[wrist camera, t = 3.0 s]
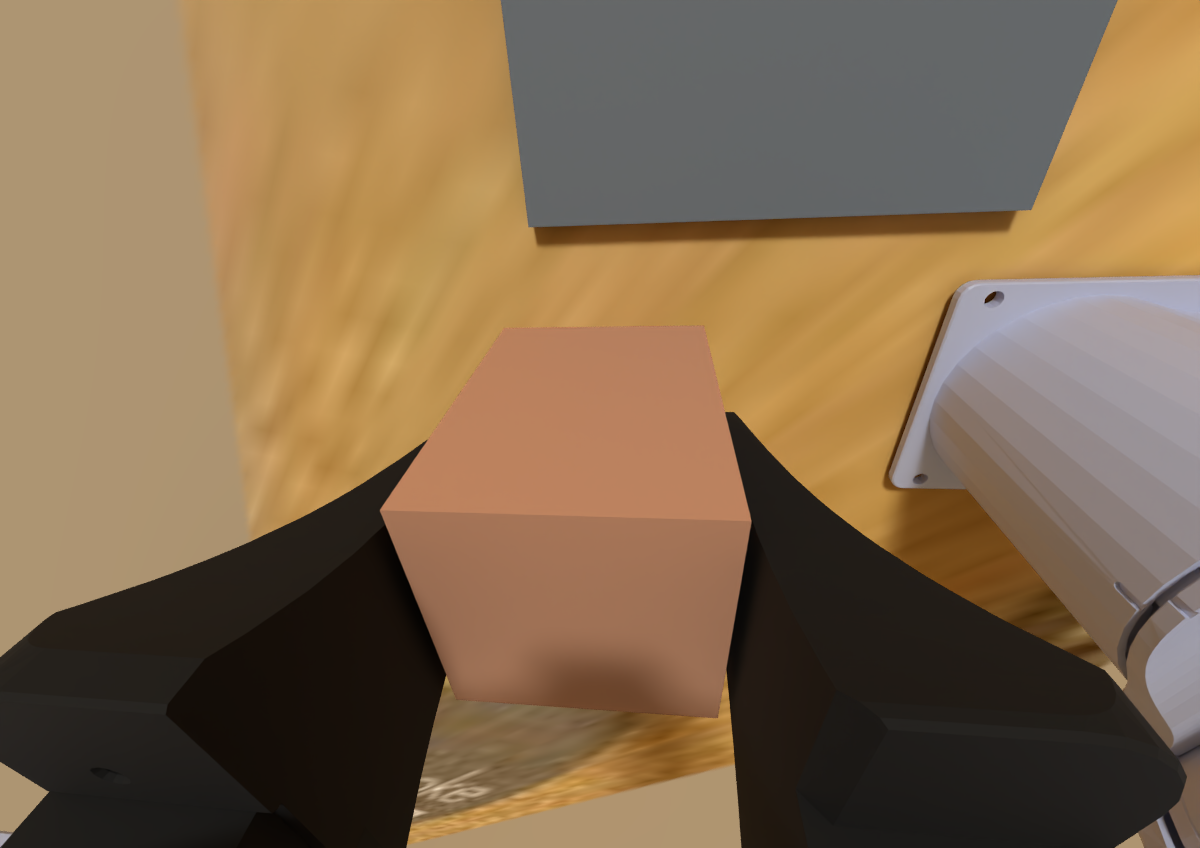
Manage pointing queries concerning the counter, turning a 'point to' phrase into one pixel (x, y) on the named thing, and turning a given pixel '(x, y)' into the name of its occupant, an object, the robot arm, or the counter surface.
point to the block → (580, 523)
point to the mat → (791, 105)
